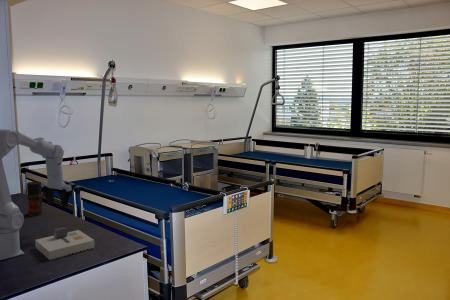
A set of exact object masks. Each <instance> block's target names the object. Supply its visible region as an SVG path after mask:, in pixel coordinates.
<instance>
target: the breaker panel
mask: <svg viewBox="0 0 450 300" xmlns="http://www.w3.org/2000/svg"><path fill="white" fill-rule="evenodd" d="M94 247H95V239H93V238H92V237H90V236H89V235H88V234H86V233H84V232H82V231H81V230H80V229H76V230H73V231H67V236H66V237H61V238H57V239H56V238H55V237H54V235H51V236H50V235H49V236H47V237H46V236H45V237H42V238H37V239H35V249H37V250H38V251H39V252H40V253H41V254H42V255H44V256H45V258H46V259H48V260H49V261H51V260H54V259H58V258H59V259H60V258H62V257H66V256H69V254H70V255H73V254H77V253H80V251H81V252H83V251H84V250H85V251H88V250H91V248H92V249H95V248H94ZM87 249H88V250H87ZM85 251H84V252H85ZM76 252H77V253H76ZM72 253H73V254H72Z"/></svg>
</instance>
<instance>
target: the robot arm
mask: <svg viewBox="0 0 450 300" xmlns="http://www.w3.org/2000/svg"><path fill="white" fill-rule="evenodd" d="M18 145H20V146H24V147H27V148H29V151H30V152H31V153H33V154H37V155H39V156H41V157H42V158H43V159H45V167H46V177H47V181H41V193H42V194H43V195H44V197H45V199H46V202H47V204H48V206H51V205H53V204H55V190H60V191H58V192H57V194H58V196H59V198H60V203H61V207H62V208H64V209H65V208H66V207H68V205H69V200H70V198H71V194H72V192H73V189H72V185H70V184H67V183H66V181H64V175H63V164H62V163H63V161H64V160H63V159H64V158H63V157H64V154H65V150H64V149H63V147H62V146H61V145H60V144H53V142H52V141H47V140H45V138H44V137H36V138H32V137H31V136H27V135H25V134H24V133H22V132H20V131H18V130H15V129H4V128H2V129H0V261H2V260H6V259H9V258H14V257H19V256H22V255H25V252H24V251H23V250H22V249H21V244H20V230H21V228H22V226H24V225H23V224H24V221H25V217H24V214H23V213H22V212H21V210H20V207H19V206H18V205H17V204H15V203H14V202H13V200H12V197H11V192H10V188H9V183H8V179H7V175H6V171H5V167H4V164H3V158H4V157H6V156H7V155H8V154H10V152H11V151H12V150H13V149H14V148H16V146H18Z"/></svg>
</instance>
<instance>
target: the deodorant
mask: <svg viewBox="0 0 450 300" xmlns="http://www.w3.org/2000/svg"><path fill="white" fill-rule="evenodd" d="M41 183H42V181H29V182H27V183H26V193H27V196H26V197H27V214H28V216H30V217H36V216H42V215H43V199H42V198H43V197H42V194H43V193H42V192H41V189H42V186H41Z"/></svg>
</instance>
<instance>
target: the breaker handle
mask: <svg viewBox="0 0 450 300" xmlns="http://www.w3.org/2000/svg"><path fill="white" fill-rule="evenodd" d="M67 233H68V228H67V227H66V226H63V227H57V228H54V229H53V236H54V237H55V238H56V239H57V238H61V237H66V236H67Z"/></svg>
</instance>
